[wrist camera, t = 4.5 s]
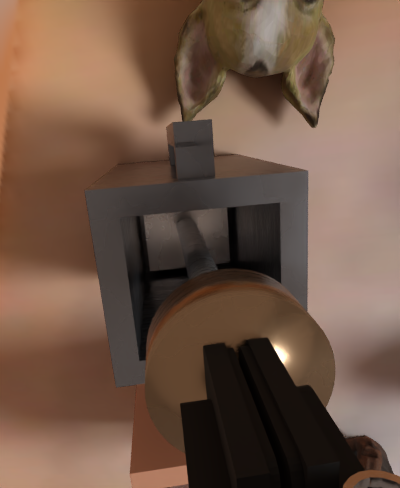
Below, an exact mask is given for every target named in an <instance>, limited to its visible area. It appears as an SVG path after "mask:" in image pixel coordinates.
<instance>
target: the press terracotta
mask: <svg viewBox="0 0 400 488" xmlns="http://www.w3.org/2000/svg"><path fill="white" fill-rule="evenodd" d="M130 478H131V484H132V488H170V487H173V486H179V485H185V484H188V475H187V466H186V456H185V453H183V452H181V451H180V450H178V449H177V448H175V447H174V446H173V445H171V444H170V443H169V442H168V441H167V440H166V439H165V438H164V437H163V436H162V435H161V434H160V432H159V431H158V430H157V428H156V427H155V425H154V423H153V421H152V420H151V417H150V415H149V412H148V409H147V405H146V400H145V384H138V385H136V397H135V410H134V424H133V438H132V452H131V465H130Z"/></svg>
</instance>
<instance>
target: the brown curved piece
mask: <svg viewBox="0 0 400 488" xmlns="http://www.w3.org/2000/svg"><path fill="white" fill-rule="evenodd" d="M345 440H346V441H347V443H348V444H349V446H350V447H351V449H352V451H353V452H354V454H355V455H356V457H357V458H358V460H359V462H360V463H361V465H362V466H363V468H364V469H365V471H367V470H377V471H385V472H388V473H391V474H394V473H393V471H392V468H391V466H390V464H389V461H388V458H387V455H386V452H385V451H384V449H383V448H382V447H381V446H380V445H379V444H378V443H377V442H376V441H374V440H373V439H371V438H369V437H367V436H363V437H360V436H359V437H356V438H347V439H345Z"/></svg>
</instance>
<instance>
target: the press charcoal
mask: <svg viewBox="0 0 400 488" xmlns="http://www.w3.org/2000/svg"><path fill="white" fill-rule="evenodd" d="M166 130H167V141H168V151H169V160H163V161H151V162H139V163H127V164H117V165H116V166H115V167H114V168H112V169H111V170H110V171H109V172H107V173H106V174H105V175H104V176H102V177H101V178H100V179H99V180H97V181H96V182H95V183H93V184H92V185H91V186H90V187H88V188H87V189H86V190H85V196H86V203H87V209H88V215H89V221H90V228H91V234H92V240H93V247H94V253H95V259H96V265H97V272H98V278H99V284H100V290H101V297H102V303H103V309H104V315H105V322H106V328H107V334H108V340H109V347H110V353H111V359H112V365H113V372H114V378H115V384H116V387H124V386H131V385H138V384H145V366H146V344H147V335H148V331H149V327H150V324H151V322H152V319H153V317H154V315H155V313H156V311H157V310H158V308H159V306H160V305H161V304H162V303H163V301H164V300H165V299H166V298H167V297H168V296H169V295H170V294H171V293H172V292H173V291H174V290H175V289H176V288H178V287H179V286H180V285H182V284H183V283H185V282H187V281H188V280H189V277H188V273H187V269H186V267H184V268H174V269H165V270H156V271H150V267H149V258H148V250H147V241H146V233H145V225H144V216H143V215H153V214H164V213H174V212H184V211H195V210H205V209H216V208H226V207H227V217H228V236H229V254H230V262H229V263H220V264H215V265H216V267H217V269H218V270H220V269H232V268H236V269H247V270H252V271H256V272H259V273H262V274H265V275H267V276H269V277H271V278H273V279H275V280H276V281H278V282H279V283H280V284H282V285H283V286H284V287H285V288H286V289H287V290H288V291H289V292H290V293H291V294H292V295H293V296H294V297H295V298H296V300H297V301H298V302H299V303H300V304H301V305H302V306H303V308H304V309H305V310H306V311H307V279H308V171H307V170H303V169H299V168H294V167H290V166H286V165H281V164H277V163H273V162H268V161H264V160H260V159H255V158H251V157H247V156H242V155H238V154H235V155H223V156H214V148H213V132H212V119H211V120H198V121H184V122H173V123H171V124H170V125H168V126H167V127H166Z"/></svg>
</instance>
